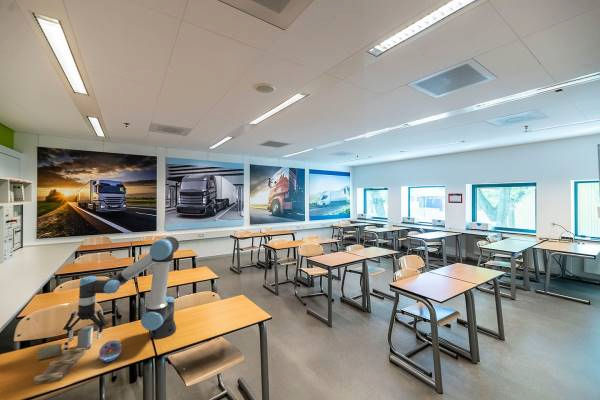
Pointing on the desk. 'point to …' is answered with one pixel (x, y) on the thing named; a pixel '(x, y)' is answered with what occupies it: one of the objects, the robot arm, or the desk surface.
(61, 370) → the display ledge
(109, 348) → the cell model
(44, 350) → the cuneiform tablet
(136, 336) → the desk surface
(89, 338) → the frame block
